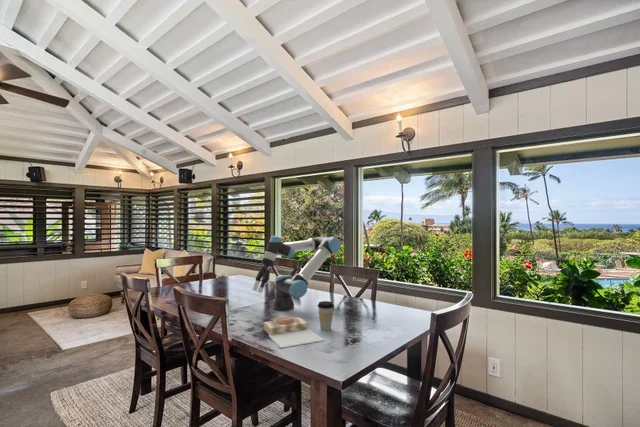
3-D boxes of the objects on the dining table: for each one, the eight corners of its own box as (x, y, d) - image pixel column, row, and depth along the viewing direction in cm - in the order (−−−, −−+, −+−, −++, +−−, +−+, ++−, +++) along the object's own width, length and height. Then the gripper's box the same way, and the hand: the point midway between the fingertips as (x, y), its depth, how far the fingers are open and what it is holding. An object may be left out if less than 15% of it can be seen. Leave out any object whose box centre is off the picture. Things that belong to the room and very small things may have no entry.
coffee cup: (336, 328, 188) (336, 302, 188) (328, 333, 179) (328, 305, 180) (322, 325, 192) (322, 300, 193) (314, 330, 184) (314, 303, 185)
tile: (290, 319, 190) (290, 316, 190) (294, 322, 185) (294, 318, 185) (275, 321, 186) (275, 318, 186) (279, 324, 181) (279, 320, 181)
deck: (299, 324, 195) (299, 317, 195) (307, 330, 184) (307, 322, 184) (263, 329, 185) (263, 322, 185) (270, 335, 174) (270, 328, 174)
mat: (309, 329, 184) (309, 328, 184) (324, 340, 168) (324, 339, 168) (268, 336, 174) (268, 335, 174) (280, 348, 157) (280, 347, 157)
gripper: (258, 257, 218) (247, 288, 212) (268, 257, 196) (256, 291, 190) (268, 261, 221) (257, 291, 215) (279, 261, 198) (267, 295, 192)
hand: (256, 291), depth 202 cm, fingers open, 13 cm apart
